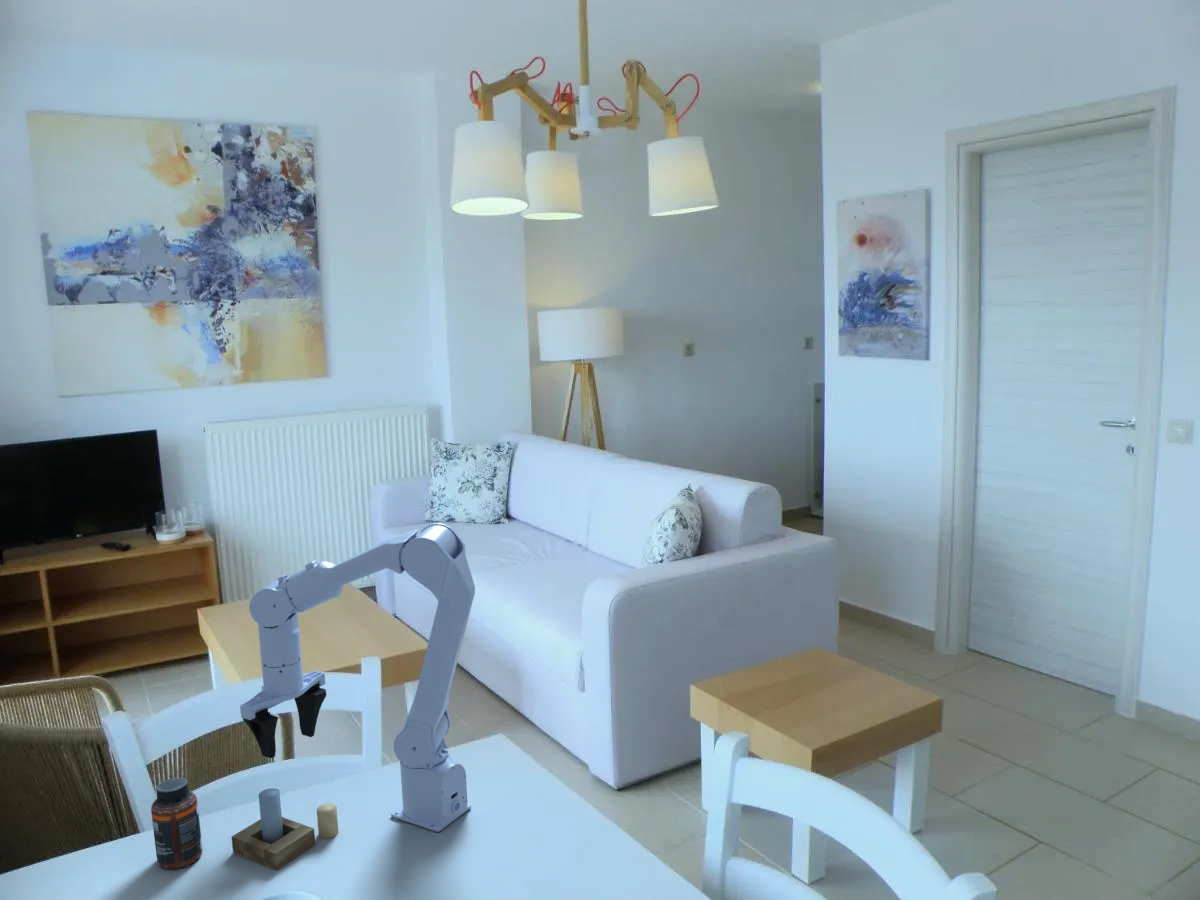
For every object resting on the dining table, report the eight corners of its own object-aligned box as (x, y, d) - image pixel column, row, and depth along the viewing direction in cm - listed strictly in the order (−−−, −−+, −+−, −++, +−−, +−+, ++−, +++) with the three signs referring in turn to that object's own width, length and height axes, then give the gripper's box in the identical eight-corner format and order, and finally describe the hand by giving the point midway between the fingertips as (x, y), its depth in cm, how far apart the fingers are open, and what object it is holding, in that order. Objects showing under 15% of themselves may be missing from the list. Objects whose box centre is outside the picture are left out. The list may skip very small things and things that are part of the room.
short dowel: (342, 831, 139) (340, 806, 138) (328, 840, 136) (326, 815, 136) (328, 826, 140) (326, 801, 140) (314, 835, 138) (312, 810, 137)
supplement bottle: (211, 847, 136) (203, 773, 134) (189, 872, 130) (181, 795, 128) (171, 846, 136) (163, 773, 134) (148, 870, 130) (139, 794, 129)
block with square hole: (315, 844, 135) (314, 828, 135) (276, 870, 130) (275, 853, 129) (272, 828, 140) (271, 812, 140) (233, 852, 134) (231, 836, 134)
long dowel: (288, 846, 135) (283, 791, 134) (272, 856, 133) (267, 800, 132) (275, 841, 137) (270, 786, 135) (259, 850, 134) (254, 795, 133)
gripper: (300, 640, 150) (306, 721, 152) (223, 672, 137) (231, 759, 140) (332, 648, 146) (338, 730, 148) (256, 681, 134) (264, 770, 136)
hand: (288, 745), depth 144 cm, fingers open, 7 cm apart
